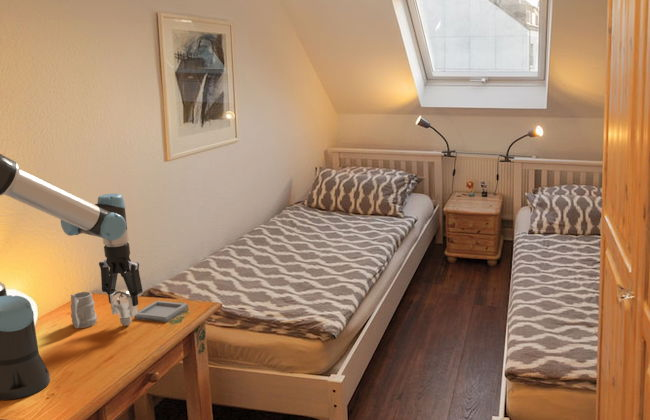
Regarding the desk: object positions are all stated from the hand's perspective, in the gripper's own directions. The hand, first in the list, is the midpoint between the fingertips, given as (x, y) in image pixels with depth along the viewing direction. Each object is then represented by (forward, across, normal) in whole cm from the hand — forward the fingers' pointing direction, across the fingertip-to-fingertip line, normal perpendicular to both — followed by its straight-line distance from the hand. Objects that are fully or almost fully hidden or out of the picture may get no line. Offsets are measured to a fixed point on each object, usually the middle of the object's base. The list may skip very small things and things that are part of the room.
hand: (125, 314), depth 220 cm
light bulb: (+4, 0, 0) cm, 4 cm away
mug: (+4, +14, +4) cm, 15 cm away
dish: (+4, -5, -12) cm, 14 cm away
